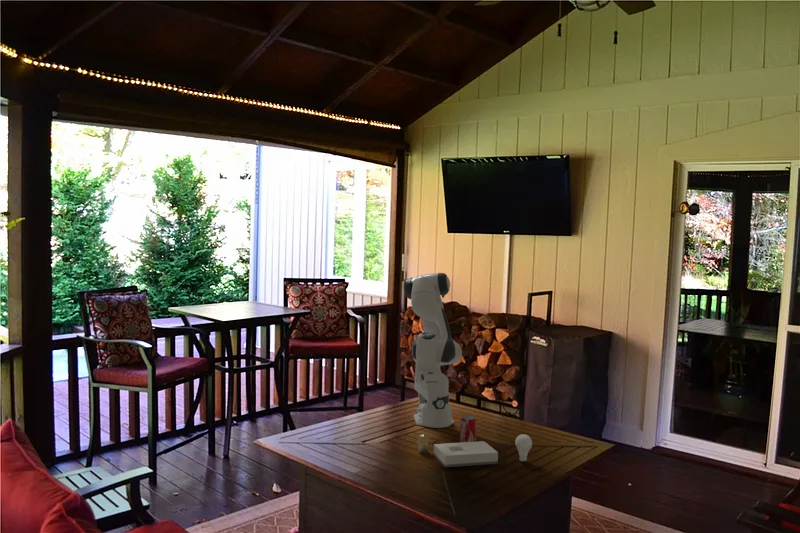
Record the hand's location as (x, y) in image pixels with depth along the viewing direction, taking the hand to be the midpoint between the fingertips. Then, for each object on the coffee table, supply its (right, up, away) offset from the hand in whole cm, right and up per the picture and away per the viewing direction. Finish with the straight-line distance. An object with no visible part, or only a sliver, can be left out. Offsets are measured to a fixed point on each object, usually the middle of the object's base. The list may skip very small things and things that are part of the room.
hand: (424, 406), depth 258 cm
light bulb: (+39, -21, -7) cm, 45 cm away
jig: (+16, -20, -6) cm, 26 cm away
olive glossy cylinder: (-1, -19, +1) cm, 19 cm away
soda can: (+19, -19, +13) cm, 30 cm away
